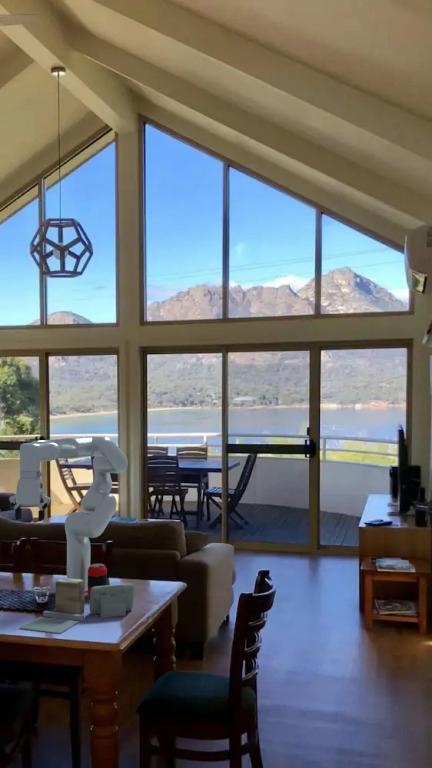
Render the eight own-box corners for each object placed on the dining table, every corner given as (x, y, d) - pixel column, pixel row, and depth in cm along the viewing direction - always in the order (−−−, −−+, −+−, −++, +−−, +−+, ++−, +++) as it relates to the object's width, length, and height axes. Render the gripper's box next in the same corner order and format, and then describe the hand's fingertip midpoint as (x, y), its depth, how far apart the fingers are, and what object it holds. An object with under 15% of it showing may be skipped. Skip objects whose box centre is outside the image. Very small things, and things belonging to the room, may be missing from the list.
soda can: (96, 599, 255) (96, 568, 256) (83, 596, 260) (83, 565, 260) (110, 595, 261) (110, 564, 262) (97, 591, 266) (97, 562, 266)
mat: (39, 617, 233) (39, 616, 233) (79, 622, 228) (79, 621, 228) (19, 628, 222) (19, 627, 222) (60, 634, 217) (60, 632, 217)
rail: (45, 614, 236) (45, 610, 236) (84, 619, 231) (84, 615, 231) (43, 616, 235) (43, 612, 235) (82, 620, 230) (82, 616, 230)
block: (62, 611, 241) (63, 577, 241) (84, 613, 238) (84, 579, 239) (55, 615, 236) (55, 581, 237) (77, 617, 233) (77, 583, 234)
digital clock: (134, 609, 243) (134, 580, 244) (133, 617, 234) (133, 587, 235) (90, 610, 242) (90, 581, 242) (88, 618, 233) (88, 588, 233)
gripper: (55, 474, 252) (55, 519, 251) (15, 473, 256) (15, 517, 255) (45, 476, 244) (45, 522, 244) (4, 475, 248) (4, 520, 248)
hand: (29, 519), depth 250 cm, fingers open, 9 cm apart
